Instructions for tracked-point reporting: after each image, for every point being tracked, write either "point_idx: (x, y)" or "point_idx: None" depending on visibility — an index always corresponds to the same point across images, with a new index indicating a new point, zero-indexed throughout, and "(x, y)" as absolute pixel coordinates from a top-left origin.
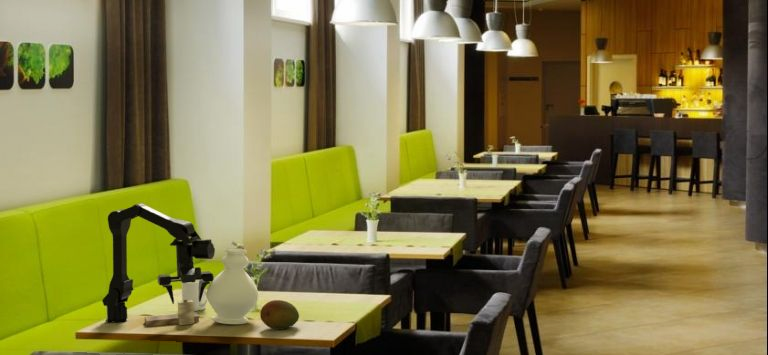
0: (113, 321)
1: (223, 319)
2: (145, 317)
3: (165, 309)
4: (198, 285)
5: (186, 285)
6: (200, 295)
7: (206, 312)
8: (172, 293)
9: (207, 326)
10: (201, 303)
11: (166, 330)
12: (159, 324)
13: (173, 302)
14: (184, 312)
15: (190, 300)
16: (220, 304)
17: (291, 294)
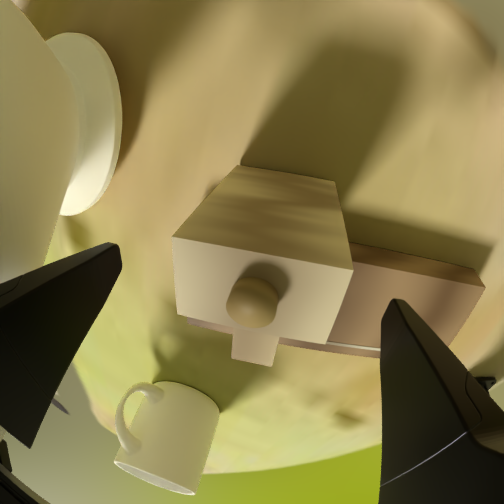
0: (487, 379)
1: (74, 65)
2: None
3: (267, 433)
4: (136, 456)
5: (182, 476)
6: (64, 266)
7: (148, 351)
8: (450, 389)
9: (177, 63)
10: (153, 395)
11: (450, 107)
12: (425, 261)
13: (402, 304)
14: (295, 206)
15: (193, 307)
16: (10, 1)
17: None
